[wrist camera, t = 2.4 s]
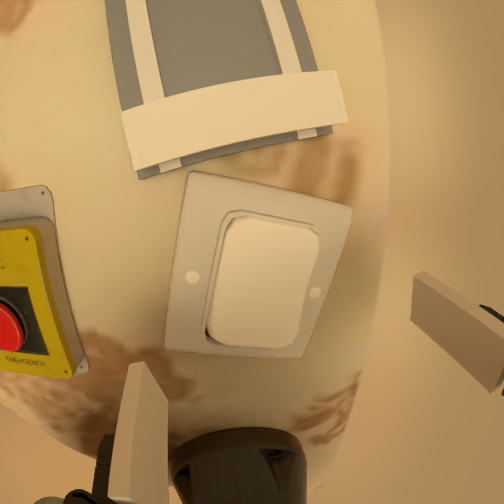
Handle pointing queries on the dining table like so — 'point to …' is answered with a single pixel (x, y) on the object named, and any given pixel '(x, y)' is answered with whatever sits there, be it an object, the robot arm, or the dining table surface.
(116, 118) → the dining table surface
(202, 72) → the rail board
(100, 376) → the dining table surface
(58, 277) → the emergency button
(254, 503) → the robot arm
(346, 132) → the dining table surface
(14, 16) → the dining table surface
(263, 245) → the light switch
